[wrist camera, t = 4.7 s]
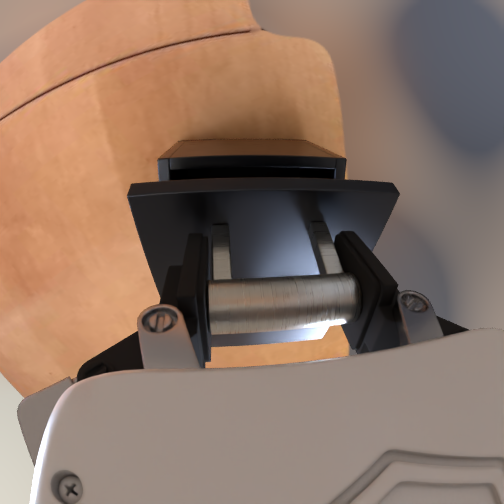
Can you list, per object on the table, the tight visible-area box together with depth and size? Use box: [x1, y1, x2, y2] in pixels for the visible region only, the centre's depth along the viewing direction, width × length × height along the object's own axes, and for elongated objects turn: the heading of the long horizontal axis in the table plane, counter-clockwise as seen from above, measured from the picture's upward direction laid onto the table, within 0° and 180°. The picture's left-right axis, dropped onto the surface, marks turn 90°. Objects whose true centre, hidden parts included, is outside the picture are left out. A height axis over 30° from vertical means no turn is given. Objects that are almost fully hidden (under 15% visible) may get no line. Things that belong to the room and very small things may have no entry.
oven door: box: [127, 178, 400, 347], centre depth 15 cm, size 14×11×5 cm
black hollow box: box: [157, 139, 346, 181], centre depth 22 cm, size 13×11×9 cm
